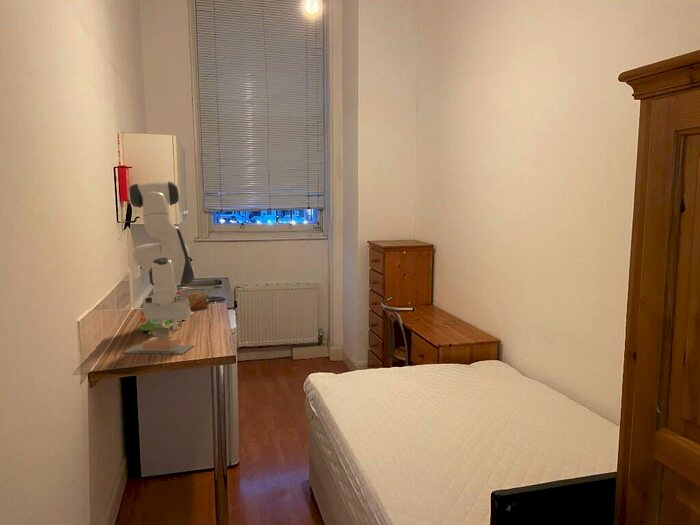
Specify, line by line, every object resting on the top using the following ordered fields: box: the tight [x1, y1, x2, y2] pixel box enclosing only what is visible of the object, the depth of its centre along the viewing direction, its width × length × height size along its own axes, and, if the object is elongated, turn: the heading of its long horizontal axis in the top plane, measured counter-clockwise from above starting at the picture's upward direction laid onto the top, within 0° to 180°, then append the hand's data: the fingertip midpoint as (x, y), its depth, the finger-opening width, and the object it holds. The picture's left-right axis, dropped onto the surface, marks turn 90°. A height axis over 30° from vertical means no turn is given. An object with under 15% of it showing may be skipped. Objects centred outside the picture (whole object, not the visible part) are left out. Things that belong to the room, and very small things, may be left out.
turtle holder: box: [138, 310, 173, 335], centre depth 244 cm, size 12×18×12 cm
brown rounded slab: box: [182, 292, 211, 310], centre depth 286 cm, size 15×3×8 cm, turn 101°
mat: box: [122, 344, 195, 355], centre depth 214 cm, size 10×26×1 cm, turn 79°
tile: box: [141, 336, 181, 350], centre depth 216 cm, size 3×12×8 cm
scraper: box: [152, 321, 182, 338], centre depth 222 cm, size 15×7×4 cm, turn 169°
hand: (169, 329), depth 221 cm, fingers closed on scraper, 2 cm apart
